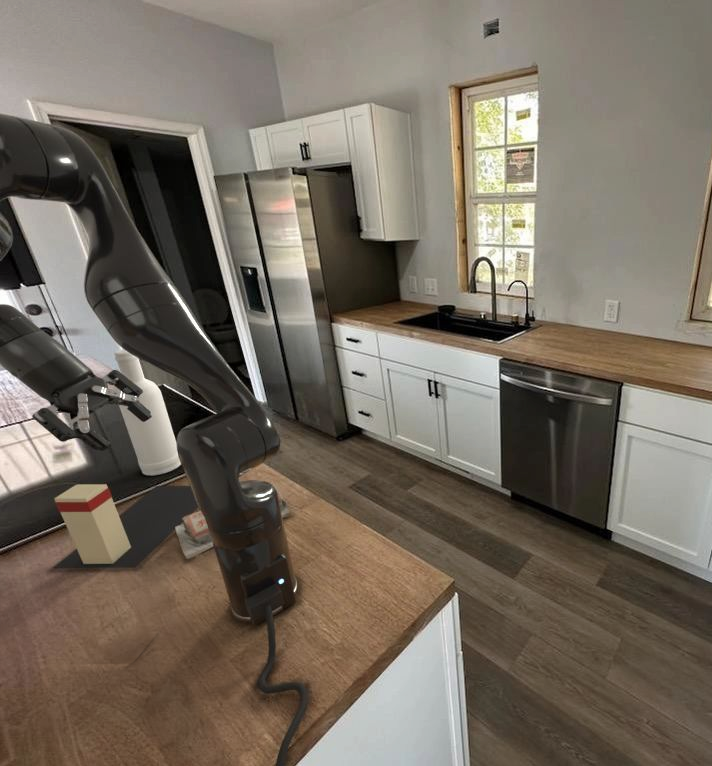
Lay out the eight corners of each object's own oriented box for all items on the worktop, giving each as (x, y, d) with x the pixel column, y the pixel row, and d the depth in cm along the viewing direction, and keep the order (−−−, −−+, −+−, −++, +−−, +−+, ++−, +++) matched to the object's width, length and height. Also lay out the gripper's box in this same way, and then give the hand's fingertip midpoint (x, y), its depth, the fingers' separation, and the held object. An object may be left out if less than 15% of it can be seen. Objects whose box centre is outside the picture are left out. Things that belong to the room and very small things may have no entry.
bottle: (188, 456, 106) (155, 345, 95) (174, 473, 99) (136, 355, 88) (151, 460, 104) (113, 347, 93) (134, 478, 97) (91, 357, 86)
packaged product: (271, 477, 91) (288, 497, 84) (275, 495, 93) (291, 516, 86) (169, 513, 79) (179, 540, 72) (176, 533, 81) (186, 561, 74)
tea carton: (113, 564, 73) (85, 498, 68) (82, 564, 72) (53, 498, 67) (132, 547, 77) (107, 484, 71) (103, 547, 76) (76, 484, 71)
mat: (136, 568, 72) (135, 567, 72) (52, 569, 72) (52, 568, 72) (220, 487, 95) (220, 486, 95) (157, 487, 94) (157, 486, 94)
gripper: (6, 377, 62) (103, 452, 68) (96, 337, 74) (171, 404, 80) (-17, 395, 64) (80, 466, 71) (74, 353, 76) (149, 417, 83)
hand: (128, 433), depth 76 cm, fingers open, 8 cm apart
